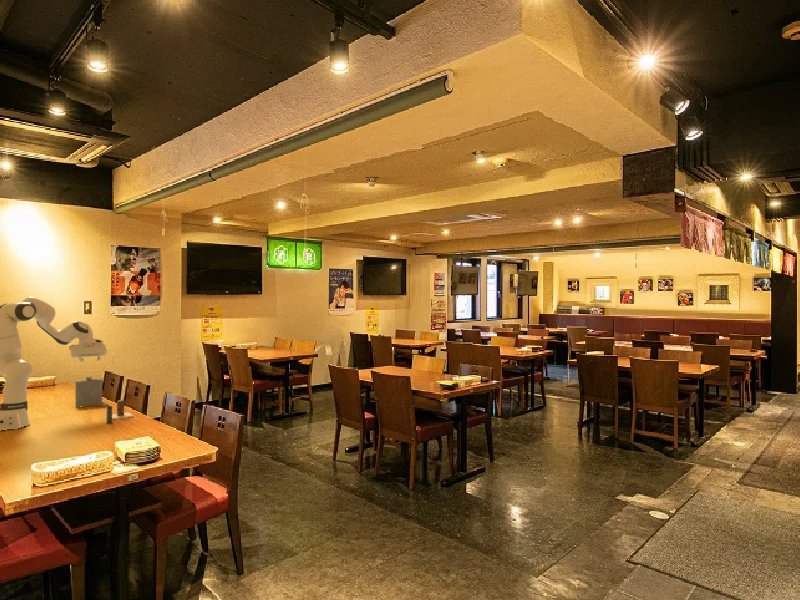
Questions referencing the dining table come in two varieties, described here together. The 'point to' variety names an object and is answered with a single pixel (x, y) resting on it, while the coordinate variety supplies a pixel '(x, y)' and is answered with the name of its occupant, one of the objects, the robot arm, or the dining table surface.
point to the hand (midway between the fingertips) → (90, 360)
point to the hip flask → (88, 392)
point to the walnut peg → (120, 408)
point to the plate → (122, 416)
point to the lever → (108, 412)
